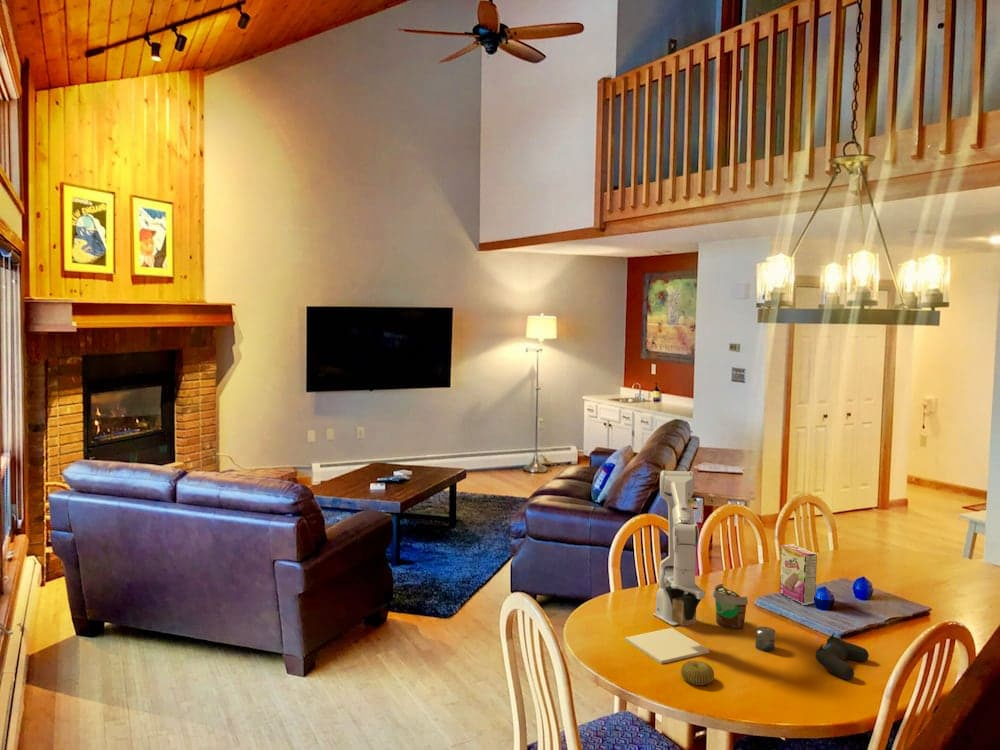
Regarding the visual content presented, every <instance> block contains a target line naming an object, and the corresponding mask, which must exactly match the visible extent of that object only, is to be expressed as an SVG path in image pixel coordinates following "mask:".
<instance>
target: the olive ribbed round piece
mask: <svg viewBox="0 0 1000 750" xmlns="http://www.w3.org/2000/svg"><path fill="white" fill-rule="evenodd" d="M680 674H681V677H682V678H683V679H684V680H685V681H686V682H687V683H689V684H691V685H696V686H697V685H698V686H705V685H708V684H710V683H711V682H712V681H713V679H714V678H715V672H714V670H713V667H712V666H711V665H710V664H709V663H707V662H704V661H700V660H688V661H686V662H684V663H683V664H682V666H681V668H680Z"/></svg>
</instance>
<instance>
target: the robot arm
mask: <svg viewBox="0 0 1000 750" xmlns="http://www.w3.org/2000/svg"><path fill="white" fill-rule="evenodd" d="M695 487H696V477H695V473H694V472H693V471H692V470H690V471H689V470H688V471H684V470H683V471H682V470H664V469H663V470H661V471H660V473H659V494H660V499H663V500H664V501H666V505H667V513H668V515H667V516H668V517H667V519H668V521H667V522H668V523H667V524H668V555H667V556H666V557H665V558H664V559H662V560H660V563H659V569H658V586H659V588H658V589H657V590H656V595H655V612H653V616H655V617H656V618H658V619H659V620H662V621H663V622H666V624H668V625H670V626H672V627H675V626H678V625H679V626H681V625H680V624H678V623H677V622H675V621H673V620H672V604H673V598H679V597H682V599H683V602H684V608H685V619H686V620H692V619H693V617H694V613H695V610H696V611H697V608H698V606H699V604H700V602H701V601H702V600H703V599H705V597H706V596H705V595H706V592H705V590H703V589H702V588H700V586H698V585H697V583H696V582H695V581H696V563H697V562H696V559H697V558H696V557H697V556H696V555H697V546H698V545H699V537H700V536H699V535H700V531H699V525H698V524H697V522H696V521H695V517H694V510H693V507H692V506H691V505H690V504H689V500H691V499H692V497H693V495H694V491H695Z"/></svg>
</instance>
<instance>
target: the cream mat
mask: <svg viewBox="0 0 1000 750" xmlns="http://www.w3.org/2000/svg"><path fill="white" fill-rule="evenodd" d="M624 641H625V642H627V643H628V644H630V645H631V646H632V647H635V648H636V649H637V650H639V651H640V652H642V653H644V654H645V655H647V656H648V657H650V658H651V659H653V660H654V661H655V662H657V663H659V664H660V665H663V664H666V663H671V662H672V663H673V662H675V661H680V660H684V659H689V658H692V657H696V656H701V655H705V654H710V649H709V648H707V647H705V646H703V645H701V643H698V642H697V641H695V640H693V639H691V638H689V637H688V636H686V635H685V634H682V633H681V632H679V631H678V630H677V629H674V628H673V627H669V628H664V629H663V628H662V629H660V630H655V631H650V632H644V633H641V634H635V635H630V636H626V637H624Z"/></svg>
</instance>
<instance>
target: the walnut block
mask: <svg viewBox="0 0 1000 750" xmlns="http://www.w3.org/2000/svg"><path fill="white" fill-rule="evenodd" d="M672 620H673V621H675V622H677V623H678V624H680V625H679V626H682V627H683V626H689V625H693V624H696V622H697V609H696V610H695V613H694V617H693V619H692V620H686V619H685V608H684V602H683V599H682V597H679V598H673V604H672Z"/></svg>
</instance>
